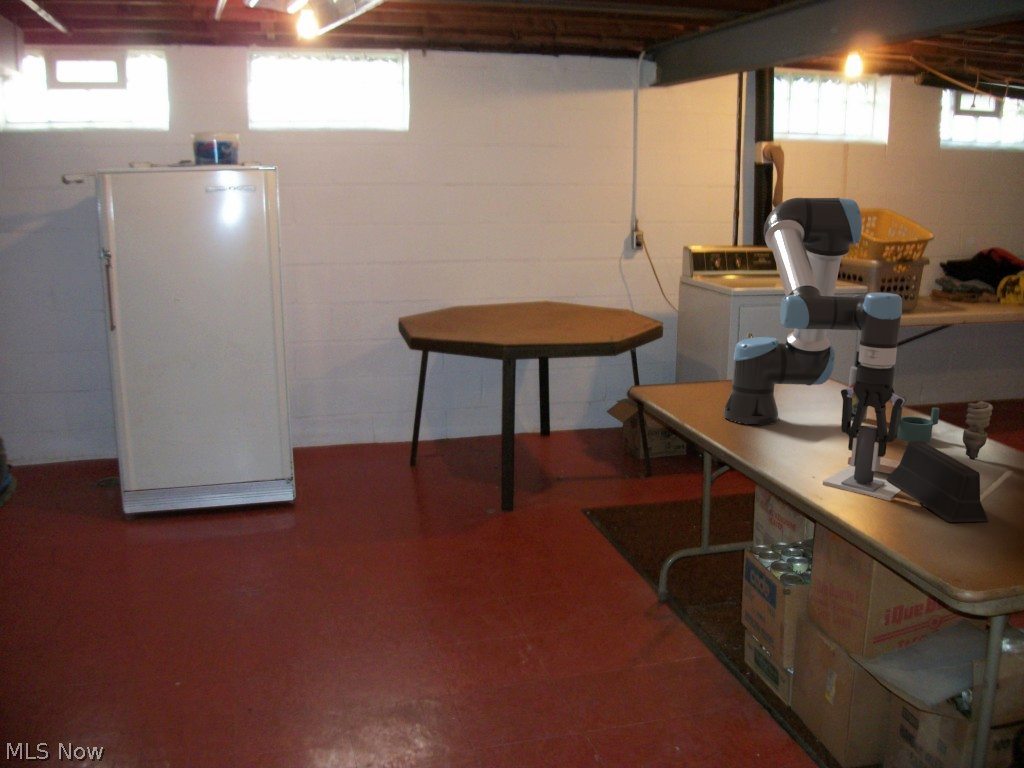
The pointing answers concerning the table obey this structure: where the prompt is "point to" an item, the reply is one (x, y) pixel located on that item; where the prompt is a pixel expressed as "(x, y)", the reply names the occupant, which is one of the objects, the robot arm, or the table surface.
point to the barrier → (939, 483)
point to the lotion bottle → (851, 383)
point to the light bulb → (976, 427)
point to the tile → (884, 465)
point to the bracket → (917, 427)
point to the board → (863, 484)
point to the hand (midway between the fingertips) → (864, 467)
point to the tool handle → (865, 453)
